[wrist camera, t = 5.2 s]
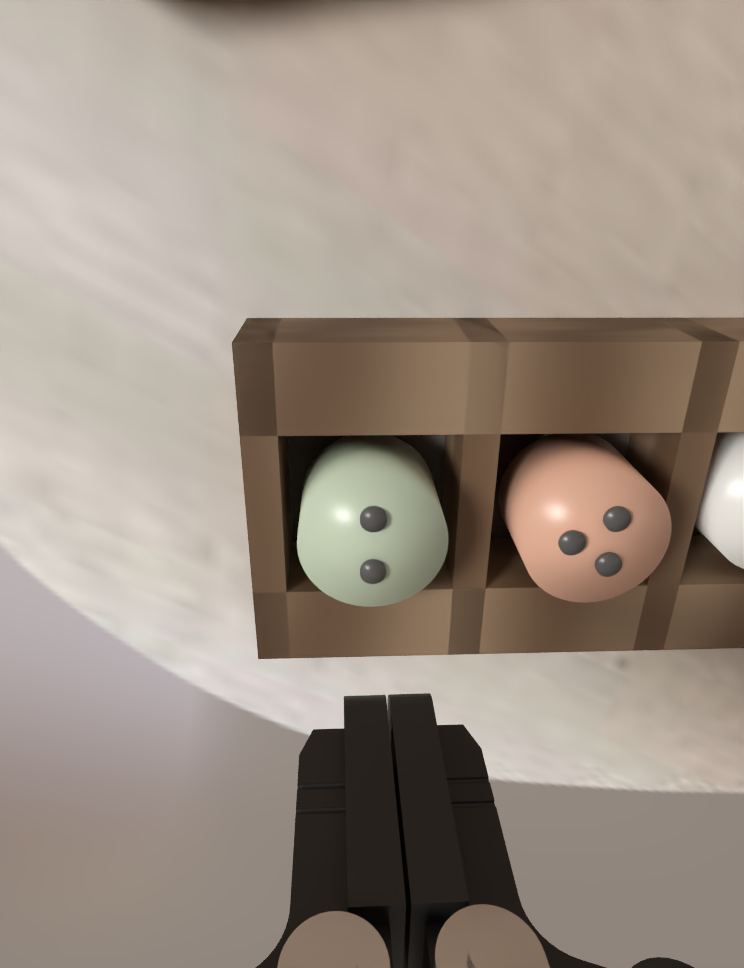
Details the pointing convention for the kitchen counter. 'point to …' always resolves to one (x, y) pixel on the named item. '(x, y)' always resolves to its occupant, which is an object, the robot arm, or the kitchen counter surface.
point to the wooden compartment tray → (491, 471)
